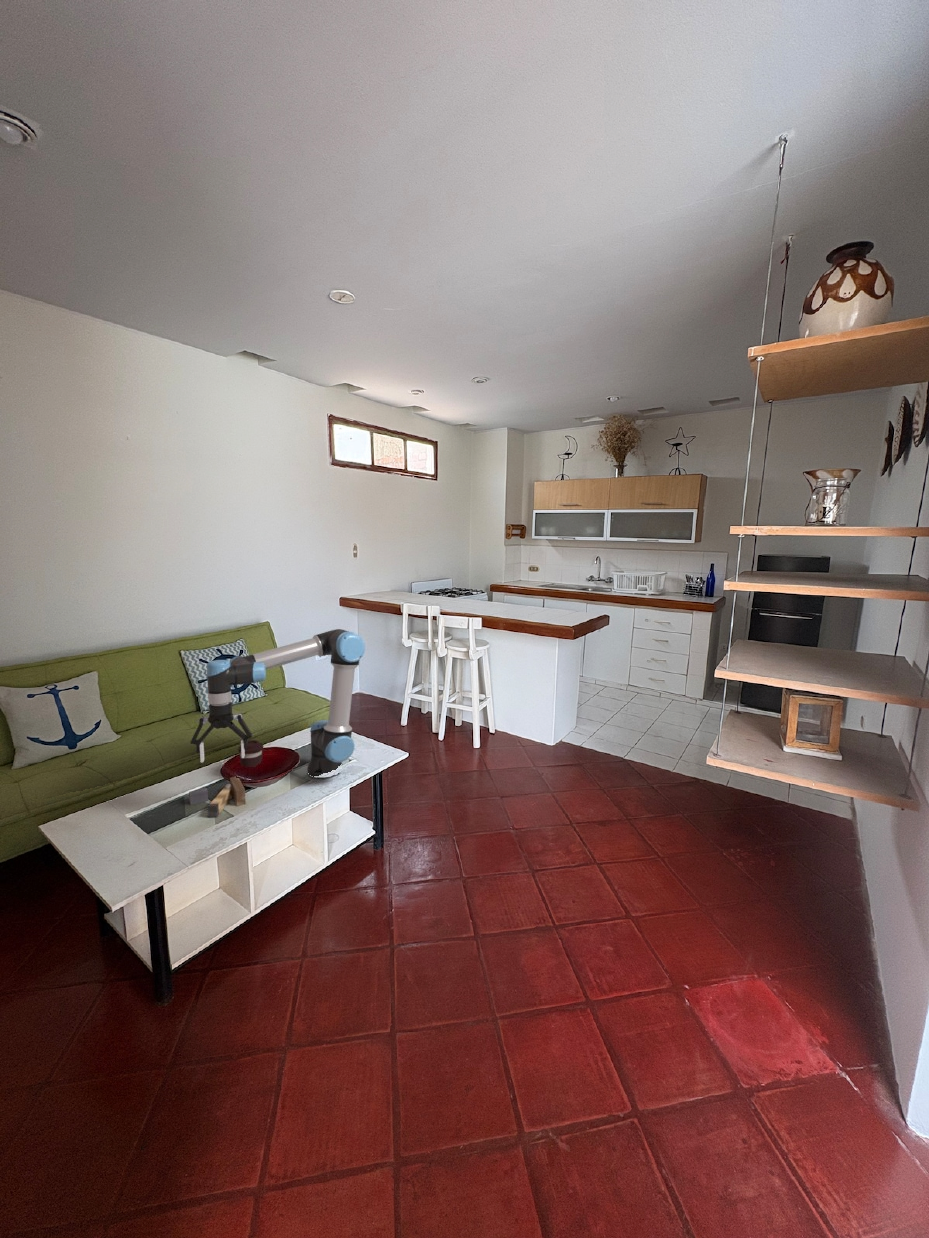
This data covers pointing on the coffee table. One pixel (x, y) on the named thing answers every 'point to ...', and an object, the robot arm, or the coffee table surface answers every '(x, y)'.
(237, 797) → the curved wooden block
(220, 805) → the folding leg
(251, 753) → the coffee cup
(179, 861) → the coffee table surface
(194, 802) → the leg rest
